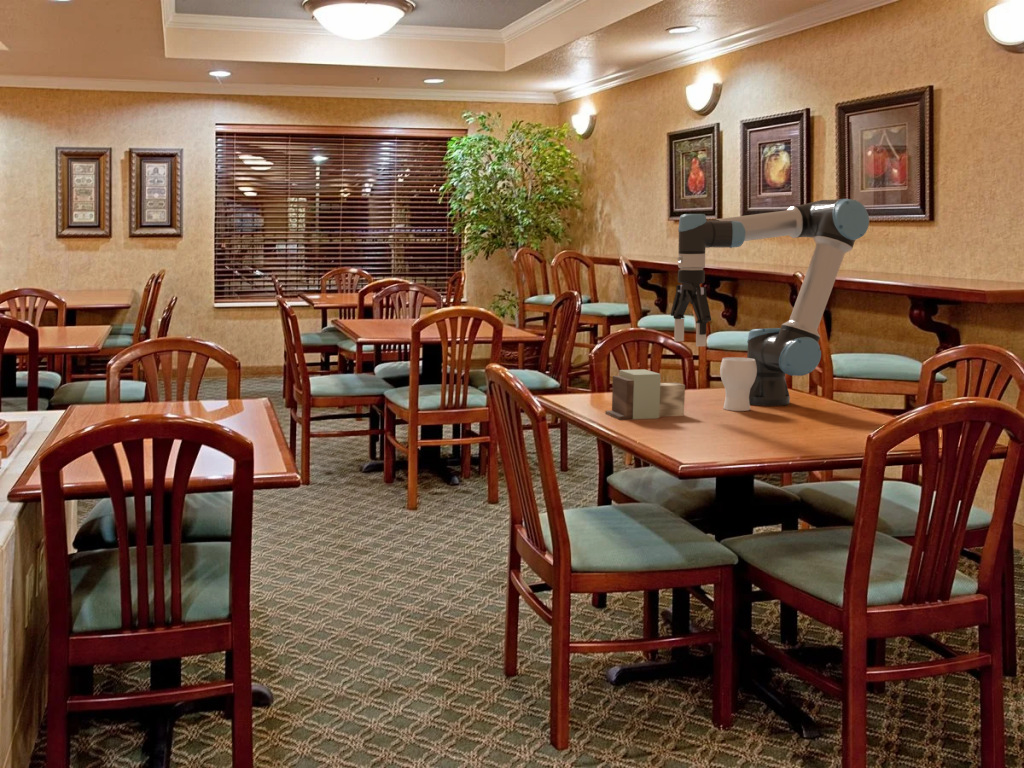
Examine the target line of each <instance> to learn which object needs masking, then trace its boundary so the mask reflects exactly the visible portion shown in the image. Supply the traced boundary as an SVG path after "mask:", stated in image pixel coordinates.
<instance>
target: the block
mask: <svg viewBox="0 0 1024 768" xmlns="http://www.w3.org/2000/svg"><path fill="white" fill-rule="evenodd" d="M618 371H619V373H618V374H619V375H618V376H622V377H625V378H628V379H631V380H634V386H633V418H632V419H631V420H646V419H647V420H648V419H649V420H651V419H660V417H659V406H660V383H661V376H662V375H661V373H659V372H655V371H651V370H650V369H649V370H648V369H645V368H644V369H619V370H618Z"/></svg>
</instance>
